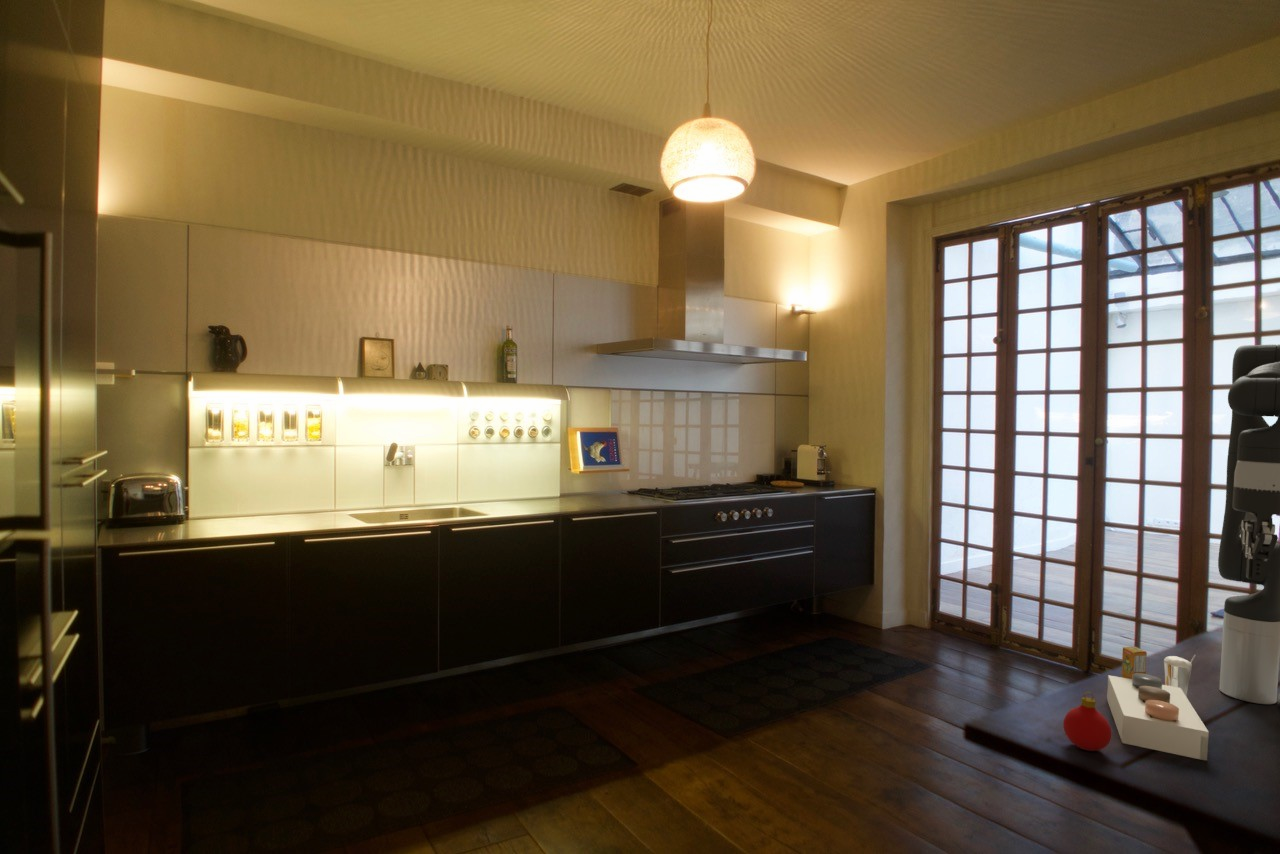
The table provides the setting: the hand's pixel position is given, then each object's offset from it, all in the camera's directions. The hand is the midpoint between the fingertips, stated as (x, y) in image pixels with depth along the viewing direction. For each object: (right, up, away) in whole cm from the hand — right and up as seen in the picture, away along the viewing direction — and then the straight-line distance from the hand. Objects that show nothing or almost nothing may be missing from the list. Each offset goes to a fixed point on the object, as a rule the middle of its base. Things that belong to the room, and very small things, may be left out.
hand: (1254, 579), depth 129 cm
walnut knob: (-17, -28, +3) cm, 33 cm away
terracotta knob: (-21, -28, -4) cm, 35 cm away
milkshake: (-2, -29, +15) cm, 33 cm away
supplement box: (-10, -28, +17) cm, 35 cm away
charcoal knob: (-14, -28, +9) cm, 32 cm away
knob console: (-17, -28, +3) cm, 33 cm away
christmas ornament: (-36, -28, -7) cm, 46 cm away
